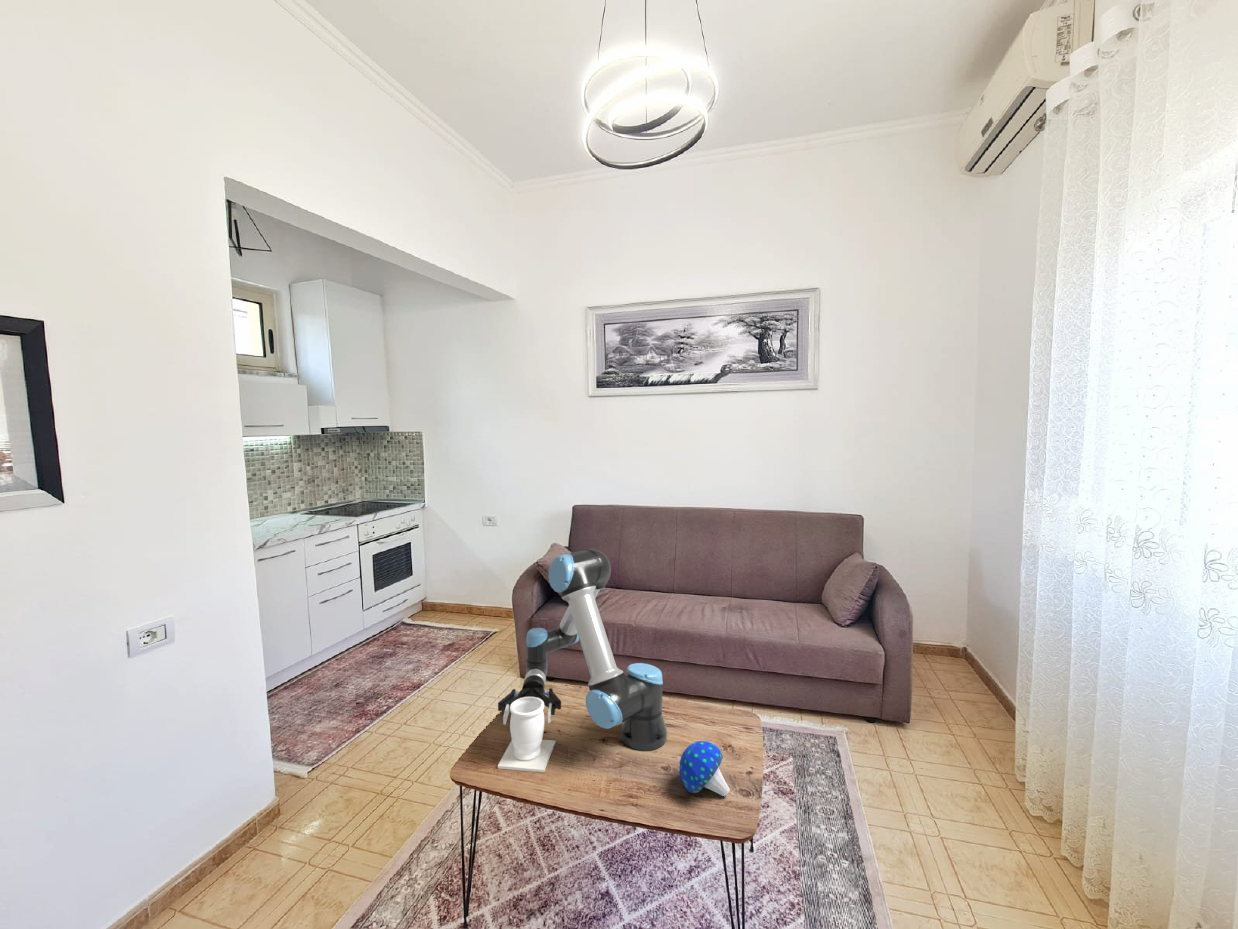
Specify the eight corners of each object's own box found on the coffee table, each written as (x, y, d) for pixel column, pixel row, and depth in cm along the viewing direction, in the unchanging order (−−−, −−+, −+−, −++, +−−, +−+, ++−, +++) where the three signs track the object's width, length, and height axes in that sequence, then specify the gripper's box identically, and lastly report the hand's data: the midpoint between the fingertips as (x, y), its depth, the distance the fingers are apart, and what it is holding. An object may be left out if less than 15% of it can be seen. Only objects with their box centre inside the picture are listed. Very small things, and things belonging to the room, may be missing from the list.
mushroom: (743, 786, 127) (698, 740, 132) (708, 826, 128) (664, 779, 133) (744, 763, 141) (703, 722, 145) (712, 799, 142) (673, 758, 146)
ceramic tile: (555, 743, 157) (555, 740, 157) (543, 772, 143) (543, 770, 143) (513, 739, 159) (513, 737, 159) (497, 768, 145) (497, 766, 145)
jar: (536, 766, 145) (536, 716, 144) (504, 761, 147) (504, 712, 146) (549, 744, 155) (549, 698, 155) (518, 740, 157) (518, 694, 157)
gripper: (569, 694, 174) (567, 730, 152) (498, 696, 172) (485, 732, 151) (569, 673, 173) (567, 706, 152) (498, 675, 172) (485, 708, 150)
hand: (526, 719), depth 151 cm, fingers open, 13 cm apart
